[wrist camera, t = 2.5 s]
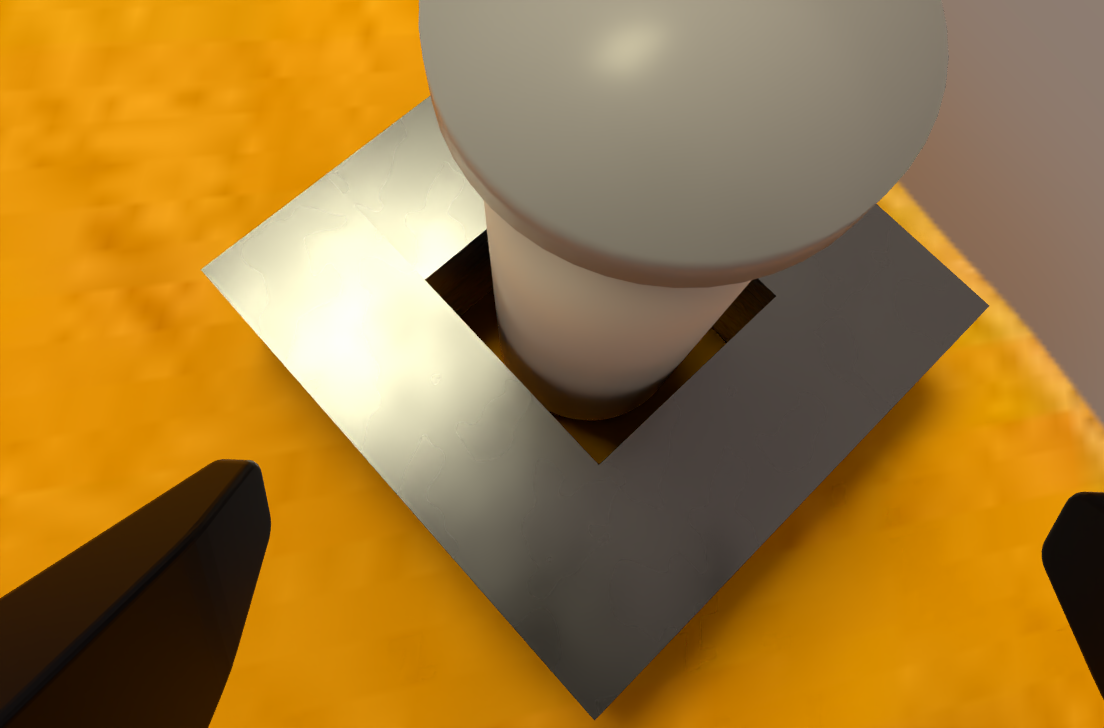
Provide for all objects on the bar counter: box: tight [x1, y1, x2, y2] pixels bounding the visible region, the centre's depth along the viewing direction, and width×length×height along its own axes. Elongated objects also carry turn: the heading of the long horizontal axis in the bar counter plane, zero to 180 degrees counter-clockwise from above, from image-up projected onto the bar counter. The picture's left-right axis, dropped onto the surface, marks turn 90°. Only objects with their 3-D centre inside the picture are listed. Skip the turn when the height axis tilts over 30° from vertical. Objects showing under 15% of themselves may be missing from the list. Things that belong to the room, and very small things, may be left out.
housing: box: [201, 96, 989, 720], centre depth 18 cm, size 13×13×4 cm
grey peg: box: [419, 0, 949, 420], centre depth 14 cm, size 6×6×12 cm
